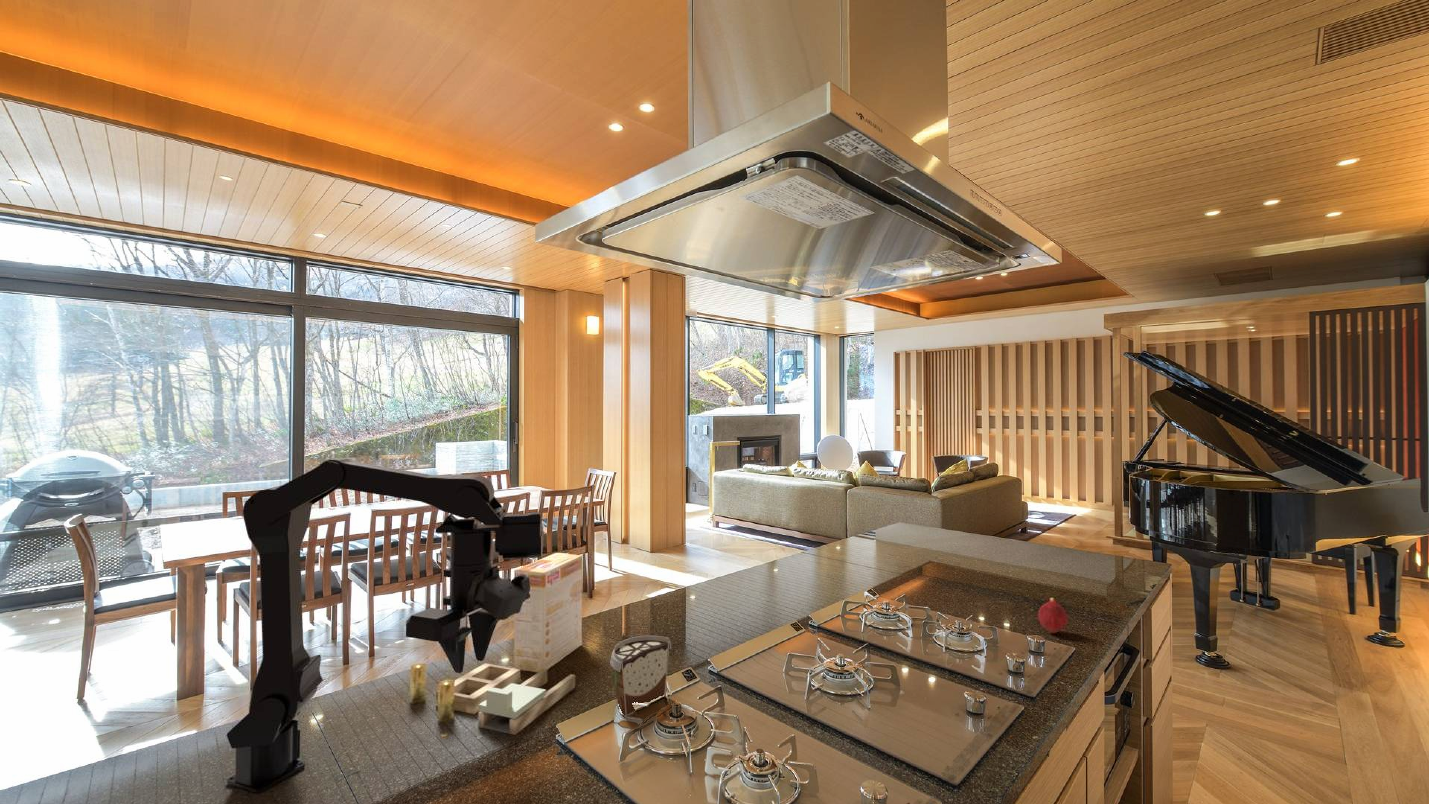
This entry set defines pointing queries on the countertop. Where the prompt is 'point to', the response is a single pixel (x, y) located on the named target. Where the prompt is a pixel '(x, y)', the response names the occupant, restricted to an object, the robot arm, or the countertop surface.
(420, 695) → the pin
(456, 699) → the socket board
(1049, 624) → the onion
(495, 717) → the housing
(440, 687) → the pin
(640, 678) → the food container
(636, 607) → the countertop surface
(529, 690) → the lid
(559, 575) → the coffeecake box
